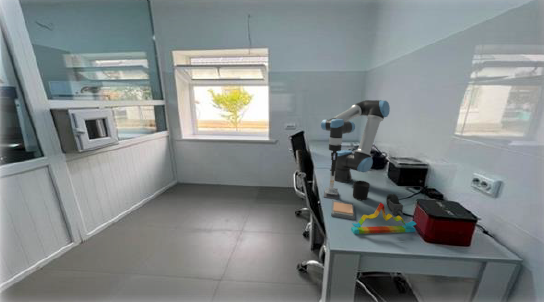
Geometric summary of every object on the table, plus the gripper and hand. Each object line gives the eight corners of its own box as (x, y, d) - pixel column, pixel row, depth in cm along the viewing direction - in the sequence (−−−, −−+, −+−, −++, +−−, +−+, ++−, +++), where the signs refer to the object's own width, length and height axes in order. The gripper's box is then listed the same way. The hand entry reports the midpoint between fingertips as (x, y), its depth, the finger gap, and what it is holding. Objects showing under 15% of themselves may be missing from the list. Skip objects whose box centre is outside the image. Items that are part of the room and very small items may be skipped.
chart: (410, 228, 103) (415, 200, 100) (414, 232, 100) (420, 204, 97) (350, 230, 101) (353, 202, 98) (353, 234, 98) (357, 205, 95)
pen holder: (369, 201, 130) (371, 186, 127) (353, 200, 132) (355, 185, 129) (365, 195, 139) (367, 181, 136) (351, 193, 141) (352, 179, 138)
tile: (333, 202, 122) (333, 210, 113) (352, 204, 120) (353, 213, 110) (333, 204, 123) (333, 212, 114) (351, 207, 120) (352, 215, 111)
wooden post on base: (325, 188, 143) (327, 163, 139) (337, 189, 140) (339, 164, 136) (324, 192, 135) (326, 167, 131) (337, 194, 133) (339, 168, 129)
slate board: (332, 202, 128) (332, 200, 128) (352, 205, 125) (353, 203, 124) (331, 215, 113) (331, 213, 113) (354, 219, 110) (355, 217, 109)
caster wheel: (383, 206, 126) (396, 218, 111) (384, 191, 124) (398, 200, 109) (392, 207, 125) (407, 218, 110) (394, 191, 124) (409, 201, 109)
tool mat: (324, 190, 145) (324, 189, 145) (338, 192, 142) (338, 191, 142) (323, 197, 135) (323, 196, 135) (338, 199, 132) (338, 198, 132)
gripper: (329, 141, 139) (327, 174, 144) (328, 146, 124) (325, 182, 130) (341, 142, 136) (338, 175, 142) (341, 147, 122) (338, 184, 128)
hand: (332, 179), depth 136 cm, fingers closed on wooden post on base, 2 cm apart
